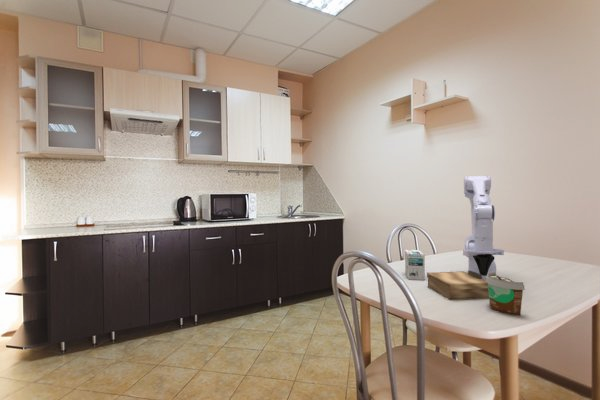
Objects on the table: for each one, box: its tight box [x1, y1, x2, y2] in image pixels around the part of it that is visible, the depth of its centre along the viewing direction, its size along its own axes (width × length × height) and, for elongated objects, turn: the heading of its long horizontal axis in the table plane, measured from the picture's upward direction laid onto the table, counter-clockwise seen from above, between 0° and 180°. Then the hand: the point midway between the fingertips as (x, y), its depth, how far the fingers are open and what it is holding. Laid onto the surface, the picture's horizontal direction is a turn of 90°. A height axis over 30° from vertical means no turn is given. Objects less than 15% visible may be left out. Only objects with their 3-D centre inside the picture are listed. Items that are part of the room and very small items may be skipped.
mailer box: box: [427, 275, 489, 301], centre depth 112 cm, size 15×14×4 cm
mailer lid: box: [426, 270, 488, 290], centre depth 111 cm, size 15×15×3 cm
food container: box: [485, 271, 526, 316], centre depth 95 cm, size 12×6×10 cm, turn 5°
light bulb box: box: [404, 249, 426, 281], centre depth 133 cm, size 11×7×11 cm, turn 168°
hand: (483, 275), depth 112 cm, fingers closed
